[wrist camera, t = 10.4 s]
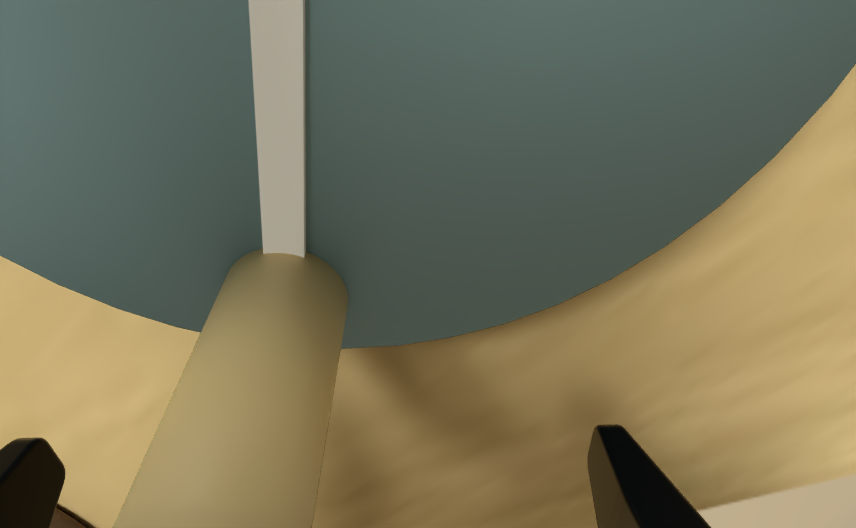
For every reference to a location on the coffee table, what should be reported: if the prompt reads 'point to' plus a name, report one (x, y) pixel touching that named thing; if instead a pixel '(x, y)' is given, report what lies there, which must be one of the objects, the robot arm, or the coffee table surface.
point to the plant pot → (64, 521)
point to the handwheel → (368, 184)
